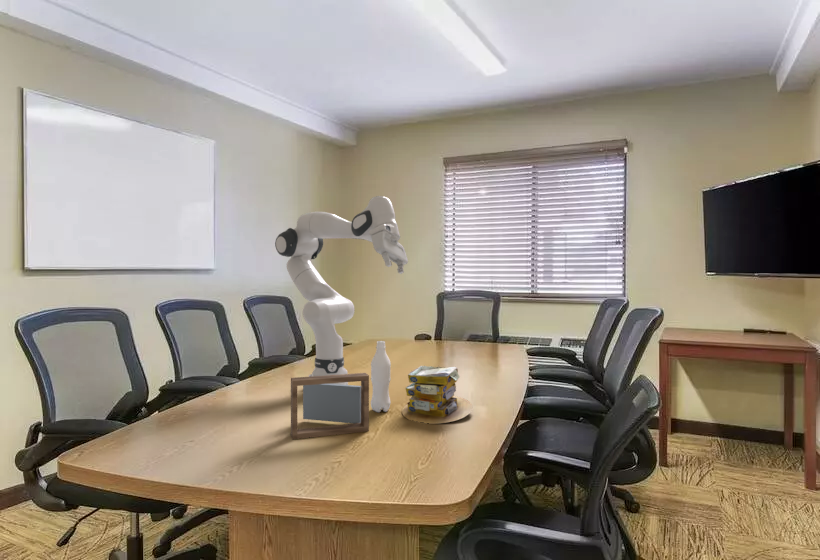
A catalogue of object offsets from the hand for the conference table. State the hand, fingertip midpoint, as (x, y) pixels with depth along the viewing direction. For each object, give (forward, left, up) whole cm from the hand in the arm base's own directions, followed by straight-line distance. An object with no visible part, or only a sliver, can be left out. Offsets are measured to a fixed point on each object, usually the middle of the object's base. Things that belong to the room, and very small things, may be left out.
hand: (395, 269), depth 180 cm
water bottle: (-3, -4, -51) cm, 51 cm away
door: (+7, -24, -50) cm, 56 cm away
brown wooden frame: (+16, -26, -51) cm, 60 cm away
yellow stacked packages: (+8, +13, -51) cm, 54 cm away
